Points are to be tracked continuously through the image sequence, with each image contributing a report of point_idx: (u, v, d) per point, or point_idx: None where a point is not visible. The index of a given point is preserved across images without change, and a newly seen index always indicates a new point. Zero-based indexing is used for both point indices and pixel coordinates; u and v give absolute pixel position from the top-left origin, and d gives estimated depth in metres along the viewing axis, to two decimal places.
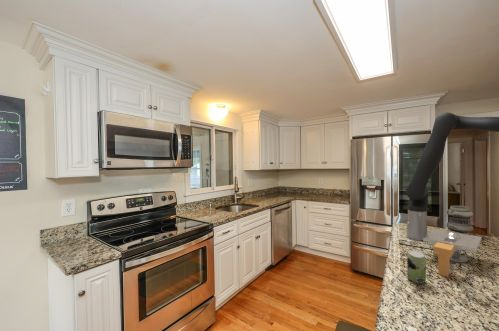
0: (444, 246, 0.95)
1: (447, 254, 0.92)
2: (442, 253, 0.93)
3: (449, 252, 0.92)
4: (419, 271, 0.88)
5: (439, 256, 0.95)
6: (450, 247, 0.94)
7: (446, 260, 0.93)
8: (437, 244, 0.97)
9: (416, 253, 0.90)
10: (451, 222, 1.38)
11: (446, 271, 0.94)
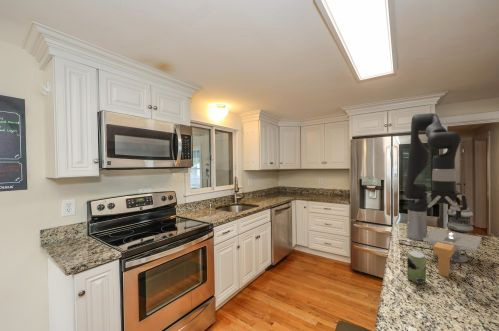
0: (444, 246, 0.95)
1: (447, 254, 0.92)
2: (442, 253, 0.93)
3: (449, 252, 0.92)
4: (419, 271, 0.88)
5: (439, 256, 0.95)
6: (450, 247, 0.94)
7: (446, 260, 0.93)
8: (437, 244, 0.97)
9: (416, 253, 0.90)
10: (451, 222, 1.38)
11: (446, 271, 0.94)
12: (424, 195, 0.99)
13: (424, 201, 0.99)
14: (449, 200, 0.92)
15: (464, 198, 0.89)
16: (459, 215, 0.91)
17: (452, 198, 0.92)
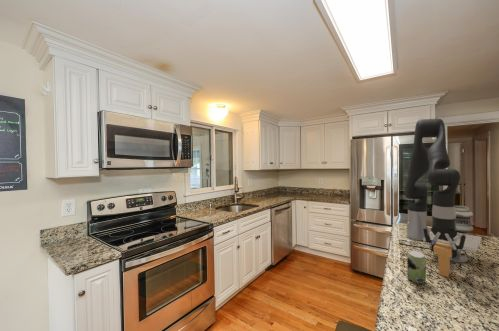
0: (445, 246, 0.95)
1: (447, 254, 0.92)
2: (442, 253, 0.93)
3: (449, 252, 0.92)
4: (419, 271, 0.88)
5: (439, 256, 0.95)
6: (450, 246, 0.94)
7: (446, 260, 0.93)
8: (437, 244, 0.97)
9: (416, 253, 0.90)
10: None
11: (446, 271, 0.94)
12: (425, 232, 0.99)
13: (427, 238, 0.99)
14: (448, 237, 0.93)
15: (463, 239, 0.90)
16: (455, 254, 0.92)
17: (452, 236, 0.93)
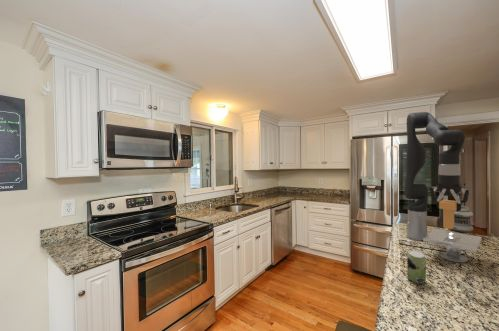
0: (450, 201, 1.03)
1: (452, 208, 1.00)
2: (447, 207, 1.01)
3: (454, 206, 0.99)
4: (419, 271, 0.88)
5: (444, 211, 1.03)
6: (454, 202, 1.02)
7: (451, 214, 1.01)
8: (443, 200, 1.05)
9: (416, 253, 0.90)
10: None
11: (451, 224, 1.01)
12: (431, 190, 1.07)
13: (433, 195, 1.07)
14: (453, 193, 1.01)
15: (467, 192, 0.97)
16: (459, 207, 1.00)
17: (456, 191, 1.00)
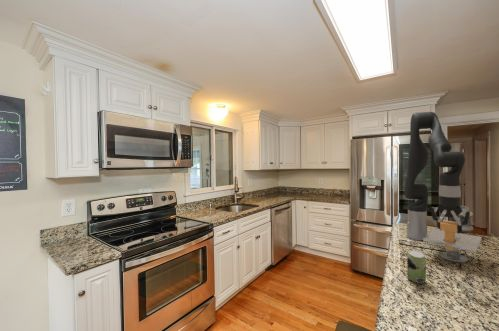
0: (450, 223, 1.03)
1: (453, 229, 1.00)
2: (448, 229, 1.01)
3: (455, 227, 1.00)
4: (419, 271, 0.88)
5: (445, 232, 1.03)
6: (455, 223, 1.02)
7: (452, 235, 1.01)
8: (443, 221, 1.05)
9: (416, 253, 0.90)
10: None
11: None
12: (432, 210, 1.07)
13: (434, 216, 1.07)
14: (454, 214, 1.01)
15: (468, 215, 0.98)
16: (460, 229, 1.00)
17: (457, 213, 1.01)
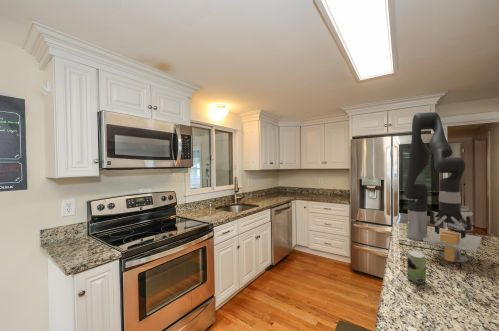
0: (450, 234, 1.03)
1: (453, 241, 1.00)
2: (448, 240, 1.02)
3: (455, 239, 1.00)
4: (419, 271, 0.88)
5: None
6: (455, 234, 1.03)
7: None
8: (443, 232, 1.06)
9: (416, 253, 0.90)
10: None
11: (452, 257, 1.02)
12: (431, 214, 1.08)
13: (431, 220, 1.08)
14: (455, 220, 1.01)
15: (468, 219, 0.98)
16: (464, 234, 0.99)
17: (457, 218, 1.01)
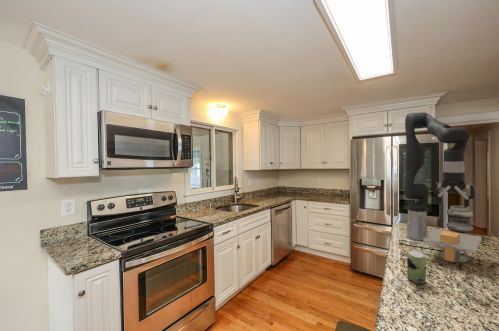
0: (450, 234, 1.03)
1: (453, 241, 1.00)
2: (448, 240, 1.02)
3: (455, 239, 1.00)
4: (419, 271, 0.88)
5: None
6: (455, 234, 1.03)
7: None
8: (443, 232, 1.06)
9: (416, 253, 0.90)
10: (451, 222, 1.38)
11: (452, 257, 1.02)
12: (435, 185, 1.08)
13: (435, 191, 1.08)
14: (458, 190, 1.01)
15: (472, 188, 0.98)
16: (467, 203, 1.00)
17: (461, 188, 1.01)
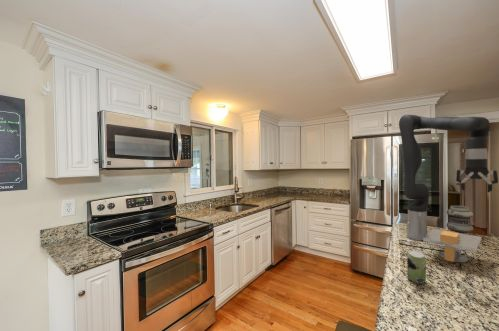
0: (450, 234, 1.03)
1: (453, 241, 1.00)
2: (448, 240, 1.02)
3: (455, 239, 1.00)
4: (419, 271, 0.88)
5: None
6: (455, 234, 1.03)
7: None
8: (443, 232, 1.06)
9: (416, 253, 0.90)
10: (451, 222, 1.38)
11: (452, 257, 1.02)
12: (458, 172, 1.14)
13: (458, 178, 1.14)
14: (481, 175, 1.07)
15: (495, 173, 1.04)
16: (490, 188, 1.06)
17: (484, 173, 1.07)
